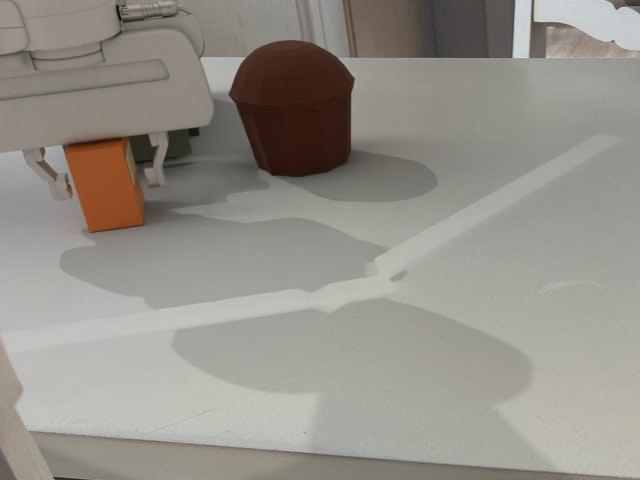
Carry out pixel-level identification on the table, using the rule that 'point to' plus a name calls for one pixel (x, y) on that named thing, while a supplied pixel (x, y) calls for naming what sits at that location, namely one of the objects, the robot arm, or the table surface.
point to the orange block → (106, 183)
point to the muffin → (295, 107)
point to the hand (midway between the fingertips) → (111, 191)
